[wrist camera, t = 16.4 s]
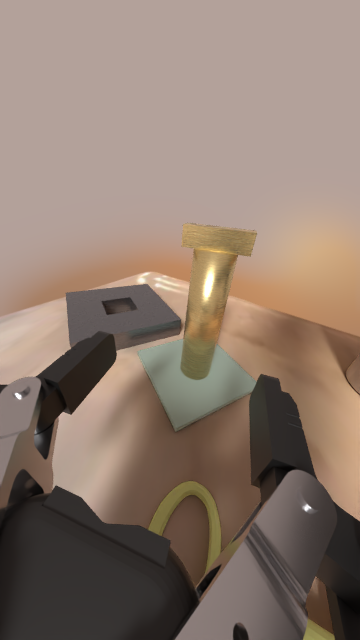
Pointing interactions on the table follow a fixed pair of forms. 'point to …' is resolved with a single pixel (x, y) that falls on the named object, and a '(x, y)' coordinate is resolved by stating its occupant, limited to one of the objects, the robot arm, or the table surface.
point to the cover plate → (120, 315)
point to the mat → (193, 383)
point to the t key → (209, 290)
